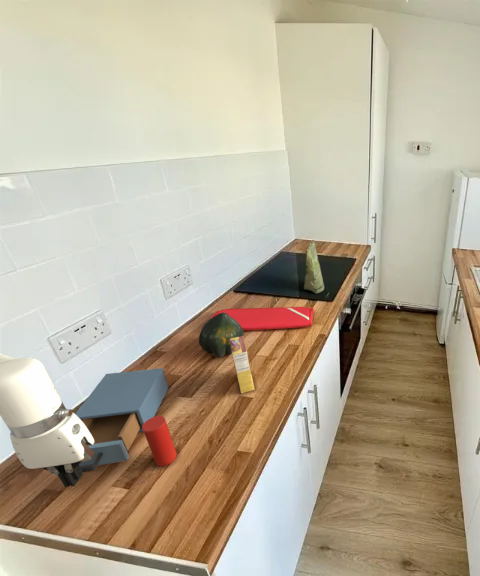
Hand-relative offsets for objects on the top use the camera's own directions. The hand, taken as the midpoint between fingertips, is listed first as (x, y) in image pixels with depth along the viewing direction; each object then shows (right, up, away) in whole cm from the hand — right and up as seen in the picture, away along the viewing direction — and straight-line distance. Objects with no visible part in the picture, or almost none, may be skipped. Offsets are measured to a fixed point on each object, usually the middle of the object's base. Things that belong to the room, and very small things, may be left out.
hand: (74, 480), depth 70 cm
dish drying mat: (+16, +27, +68) cm, 74 cm away
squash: (+8, +19, +50) cm, 54 cm away
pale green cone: (+30, +41, +97) cm, 110 cm away
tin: (+13, -1, +10) cm, 16 cm away
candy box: (+22, +11, +34) cm, 42 cm away
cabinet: (-6, +6, +22) cm, 24 cm away
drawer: (-3, +2, +11) cm, 12 cm away
